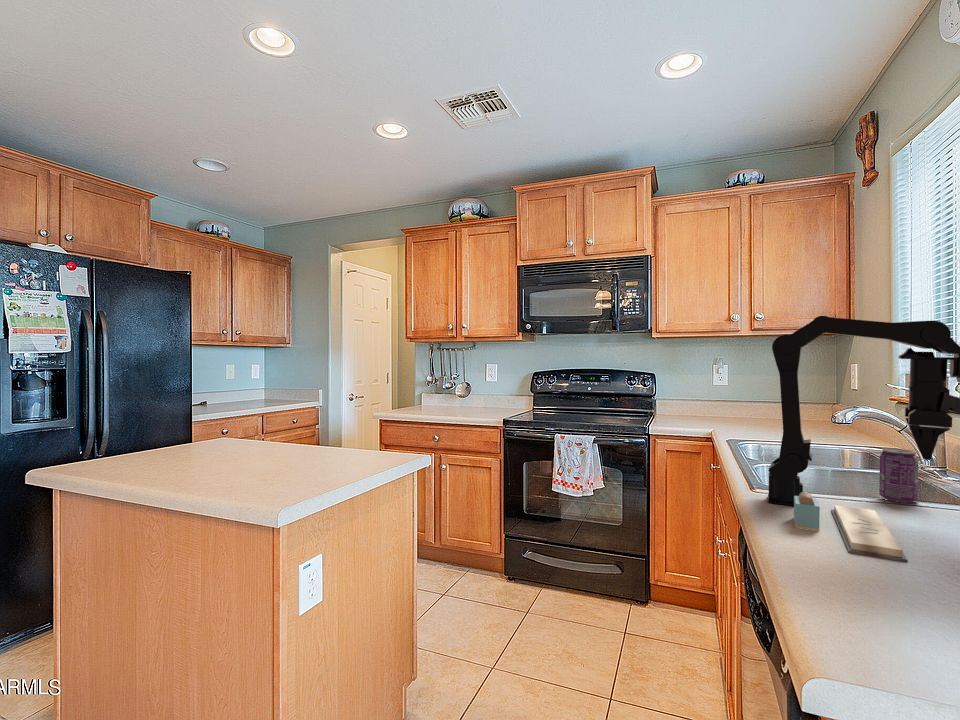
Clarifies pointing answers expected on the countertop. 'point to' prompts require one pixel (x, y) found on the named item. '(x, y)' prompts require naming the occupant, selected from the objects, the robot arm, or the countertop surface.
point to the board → (866, 533)
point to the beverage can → (898, 475)
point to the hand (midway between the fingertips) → (925, 455)
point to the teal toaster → (806, 512)
